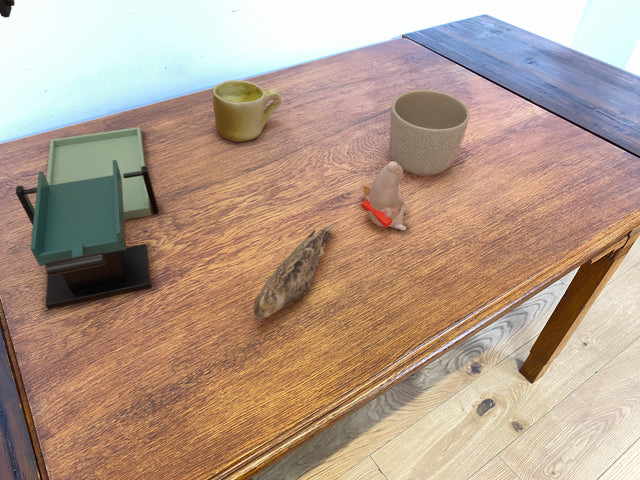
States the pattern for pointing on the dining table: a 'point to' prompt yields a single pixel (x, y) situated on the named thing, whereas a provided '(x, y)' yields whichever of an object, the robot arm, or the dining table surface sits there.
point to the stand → (103, 281)
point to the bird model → (292, 276)
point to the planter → (427, 130)
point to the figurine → (386, 198)
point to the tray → (103, 164)
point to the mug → (242, 109)
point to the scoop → (78, 222)
